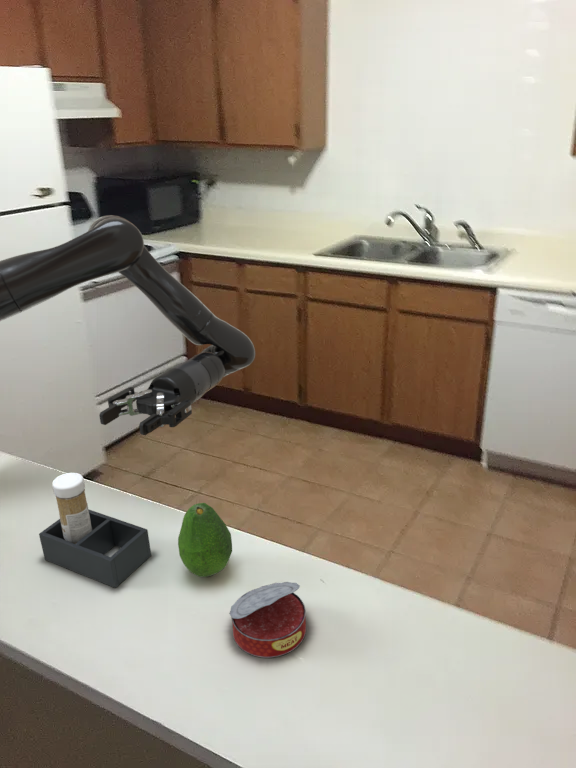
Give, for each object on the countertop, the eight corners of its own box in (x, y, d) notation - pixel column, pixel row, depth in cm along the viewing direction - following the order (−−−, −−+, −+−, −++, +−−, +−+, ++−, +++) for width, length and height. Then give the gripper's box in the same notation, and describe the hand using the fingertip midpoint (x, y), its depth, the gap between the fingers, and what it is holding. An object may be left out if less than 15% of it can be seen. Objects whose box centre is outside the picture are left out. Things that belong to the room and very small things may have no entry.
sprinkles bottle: (66, 546, 107) (51, 474, 102) (95, 539, 109) (82, 468, 103) (67, 563, 103) (51, 490, 98) (97, 556, 105) (84, 484, 99)
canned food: (247, 680, 88) (206, 635, 83) (254, 618, 96) (216, 574, 92) (323, 655, 85) (284, 606, 80) (323, 592, 93) (287, 546, 89)
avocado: (171, 580, 99) (162, 513, 94) (199, 549, 106) (192, 485, 101) (218, 595, 96) (211, 527, 91) (244, 562, 102) (239, 496, 97)
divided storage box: (44, 559, 104) (38, 533, 102) (82, 530, 111) (77, 505, 109) (115, 588, 98) (110, 561, 96) (151, 555, 105) (147, 529, 103)
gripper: (147, 361, 124) (84, 396, 111) (211, 373, 117) (152, 412, 104) (152, 398, 127) (92, 436, 114) (214, 412, 120) (158, 453, 108)
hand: (121, 424), depth 109 cm, fingers open, 8 cm apart
